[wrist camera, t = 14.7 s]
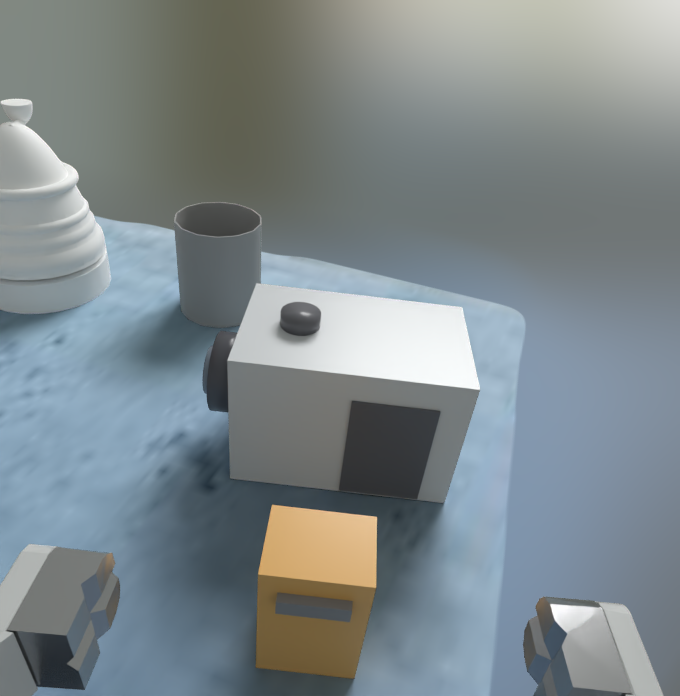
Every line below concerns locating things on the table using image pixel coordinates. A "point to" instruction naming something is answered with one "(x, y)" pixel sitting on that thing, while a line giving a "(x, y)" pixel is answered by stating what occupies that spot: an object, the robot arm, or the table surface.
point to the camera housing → (345, 392)
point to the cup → (217, 261)
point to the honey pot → (44, 225)
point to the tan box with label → (315, 591)
